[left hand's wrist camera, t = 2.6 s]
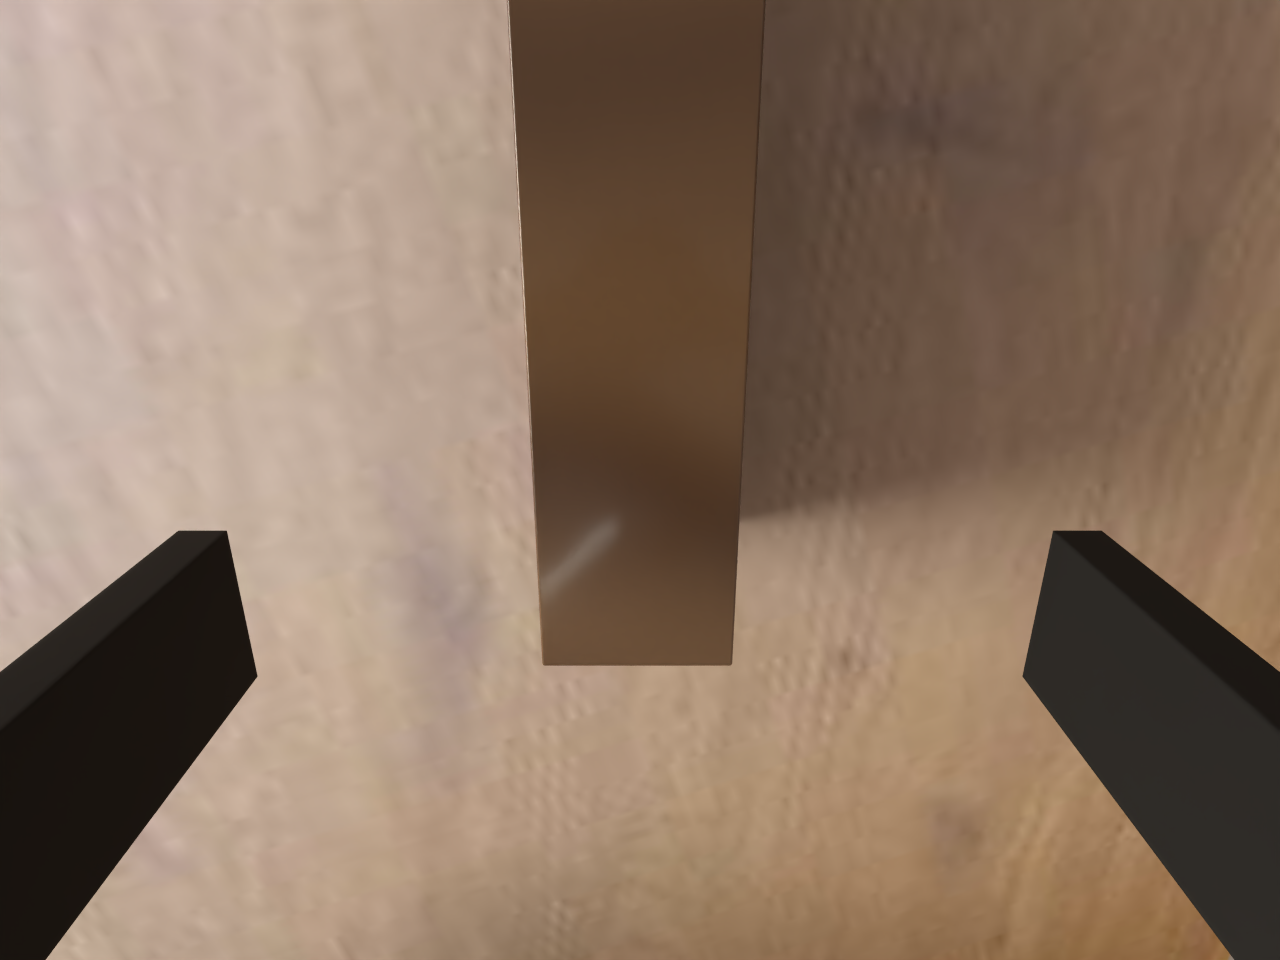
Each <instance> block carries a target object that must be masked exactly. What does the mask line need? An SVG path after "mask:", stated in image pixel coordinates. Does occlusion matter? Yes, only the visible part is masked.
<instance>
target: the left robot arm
mask: <svg viewBox="0 0 1280 960" xmlns="http://www.w3.org/2000/svg"><path fill="white" fill-rule="evenodd" d="M256 678H257V672H256V667H255V662H254V658H253V653H252V648H251V643H250V639H249V634H248V629H247V625H246V620H245V615H244V610H243V606H242V601H241V596H240V591H239V587H238V582H237V577H236V572H235V568H234V563H233V558H232V553H231V549H230V544H229V539H228V534H227V531H178V532H176V533H175V534H174V535H173V536H171V537H170V538H169V539H167V540H166V541H165V542H164V543H162V544H161V545H160V546H159V547H157V548H156V549H155V550H154V551H152V552H151V553H150V554H149V555H147V556H146V557H145V558H143V559H142V560H141V561H140V562H138V563H137V564H136V565H135V566H133V567H132V568H131V569H130V570H128V571H127V572H126V573H125V574H123V575H122V576H121V577H120V578H118V579H117V580H116V581H114V582H113V583H112V584H111V585H109V586H108V587H107V588H106V589H104V590H103V591H102V592H101V593H99V594H98V595H97V596H96V597H94V598H93V599H92V600H91V601H89V602H88V603H87V604H85V605H84V606H83V607H82V608H80V609H79V610H78V611H77V612H75V613H74V614H73V615H72V616H70V617H69V618H68V619H67V620H65V621H64V622H63V623H62V624H60V625H59V626H58V627H56V628H55V629H54V630H53V631H51V632H50V633H49V634H48V635H46V636H45V637H44V638H43V639H41V640H40V641H39V642H38V643H36V644H35V645H34V646H32V647H31V648H30V649H29V650H27V651H26V652H25V653H24V654H22V655H21V656H20V657H19V658H17V659H16V660H15V661H14V662H12V663H11V664H10V665H9V666H7V667H6V668H5V669H3V670H2V671H1V672H0V960H46V958H47V957H48V956H49V954H50V953H51V952H52V950H53V949H54V948H55V946H56V945H57V944H58V942H59V941H60V940H61V938H62V937H63V936H64V934H65V933H66V932H67V930H68V929H69V928H70V926H71V925H72V924H73V922H74V921H75V920H76V918H77V917H78V916H79V914H80V913H81V912H82V910H83V909H84V908H85V906H86V905H87V904H88V902H89V901H90V900H91V898H92V897H93V896H94V894H95V893H96V892H97V890H98V889H99V888H100V886H101V885H102V884H103V882H104V881H105V880H106V878H107V877H108V876H109V874H110V873H111V872H112V870H113V869H114V868H115V866H116V865H117V864H118V862H119V861H120V860H121V858H122V857H123V856H124V854H125V853H126V852H127V850H128V849H129V847H130V846H131V845H132V843H133V842H134V841H135V839H136V838H137V837H138V835H139V834H140V833H141V831H142V830H143V829H144V827H145V826H146V825H147V823H148V822H149V821H150V819H151V818H152V817H153V815H154V814H155V813H156V811H157V810H158V809H159V807H160V806H161V805H162V803H163V802H164V801H165V799H166V798H167V797H168V795H169V794H170V793H171V791H172V790H173V789H174V787H175V786H176V785H177V783H178V782H179V781H180V779H181V778H182V777H183V775H184V774H185V773H186V771H187V770H188V769H189V767H190V766H191V765H192V763H193V762H194V761H195V759H196V758H197V757H198V755H199V754H200V753H201V751H202V750H203V749H204V747H205V746H206V745H207V743H208V742H209V741H210V739H211V738H212V737H213V735H214V734H215V733H216V731H217V730H218V728H219V727H220V726H221V724H222V723H223V722H224V720H225V719H226V718H227V716H228V715H229V714H230V712H231V711H232V710H233V708H234V707H235V706H236V704H237V703H238V702H239V700H240V699H241V698H242V696H243V695H244V694H245V692H246V691H247V690H248V688H249V687H250V686H251V684H252V683H253V682H254V680H255V679H256ZM1023 678H1024V679H1025V680H1026V682H1027V683H1028V684H1029V686H1030V687H1031V688H1032V690H1033V691H1034V692H1035V694H1036V695H1037V696H1038V698H1039V699H1040V700H1041V702H1042V703H1043V704H1044V706H1045V707H1046V708H1047V710H1048V711H1049V712H1050V714H1051V715H1052V716H1053V718H1054V719H1055V720H1056V722H1057V723H1058V724H1059V726H1060V727H1061V728H1062V730H1063V731H1064V733H1065V734H1066V735H1067V737H1068V738H1069V739H1070V741H1071V742H1072V743H1073V745H1074V746H1075V747H1076V749H1077V750H1078V751H1079V753H1080V754H1081V755H1082V757H1083V758H1084V759H1085V761H1086V762H1087V763H1088V765H1089V766H1090V767H1091V769H1092V770H1093V771H1094V773H1095V774H1096V775H1097V777H1098V778H1099V779H1100V781H1101V782H1102V783H1103V785H1104V786H1105V787H1106V789H1107V790H1108V791H1109V793H1110V794H1111V795H1112V797H1113V798H1114V799H1115V801H1116V802H1117V803H1118V805H1119V806H1120V807H1121V809H1122V810H1123V811H1124V813H1125V814H1126V815H1127V817H1128V818H1129V819H1130V821H1131V822H1132V823H1133V825H1134V826H1135V827H1136V829H1137V830H1138V831H1139V833H1140V834H1141V835H1142V837H1143V838H1144V839H1145V841H1146V842H1147V843H1148V845H1149V846H1150V848H1151V849H1152V850H1153V852H1154V853H1155V854H1156V856H1157V857H1158V858H1159V860H1160V861H1161V862H1162V864H1163V865H1164V866H1165V868H1166V869H1167V870H1168V872H1169V873H1170V874H1171V876H1172V877H1173V878H1174V880H1175V881H1176V882H1177V884H1178V885H1179V886H1180V888H1181V889H1182V890H1183V892H1184V893H1185V894H1186V896H1187V897H1188V898H1189V900H1190V901H1191V902H1192V904H1193V905H1194V906H1195V908H1196V909H1197V910H1198V912H1199V913H1200V914H1201V916H1202V917H1203V918H1204V920H1205V921H1206V922H1207V924H1208V925H1209V926H1210V928H1211V929H1212V930H1213V932H1214V933H1215V934H1216V936H1217V937H1218V938H1219V940H1220V941H1221V942H1222V944H1223V945H1224V946H1225V948H1226V949H1227V950H1228V952H1229V953H1230V954H1231V956H1232V957H1233V958H1234V960H1280V672H1279V671H1278V670H1277V669H1275V668H1274V667H1273V666H1271V665H1270V664H1269V663H1268V662H1266V661H1265V660H1264V659H1263V658H1261V657H1260V656H1259V655H1258V654H1256V653H1255V652H1254V651H1253V650H1251V649H1250V648H1249V647H1248V646H1246V645H1245V644H1244V643H1242V642H1241V641H1240V640H1239V639H1237V638H1236V637H1235V636H1234V635H1232V634H1231V633H1230V632H1229V631H1227V630H1226V629H1225V628H1224V627H1222V626H1221V625H1220V624H1218V623H1217V622H1216V621H1215V620H1213V619H1212V618H1211V617H1210V616H1208V615H1207V614H1206V613H1205V612H1203V611H1202V610H1201V609H1200V608H1198V607H1197V606H1196V605H1195V604H1193V603H1192V602H1191V601H1189V600H1188V599H1187V598H1186V597H1184V596H1183V595H1182V594H1181V593H1179V592H1178V591H1177V590H1176V589H1174V588H1173V587H1172V586H1171V585H1169V584H1168V583H1167V582H1166V581H1164V580H1163V579H1162V578H1160V577H1159V576H1158V575H1157V574H1155V573H1154V572H1153V571H1152V570H1150V569H1149V568H1148V567H1147V566H1145V565H1144V564H1143V563H1142V562H1140V561H1139V560H1138V559H1136V558H1135V557H1134V556H1133V555H1131V554H1130V553H1129V552H1128V551H1126V550H1125V549H1124V548H1123V547H1121V546H1120V545H1119V544H1118V543H1116V542H1115V541H1114V540H1113V539H1111V538H1110V537H1109V536H1107V535H1106V534H1105V533H1104V532H1102V531H1053V534H1052V539H1051V544H1050V549H1049V553H1048V558H1047V563H1046V568H1045V572H1044V577H1043V582H1042V587H1041V591H1040V596H1039V601H1038V606H1037V610H1036V615H1035V620H1034V625H1033V629H1032V634H1031V639H1030V643H1029V648H1028V653H1027V658H1026V662H1025V667H1024V672H1023Z"/></svg>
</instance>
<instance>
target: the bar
mask: <svg viewBox="0 0 1280 960" xmlns="http://www.w3.org/2000/svg"><path fill="white" fill-rule="evenodd" d="M765 1H766V0H507V8H508V27H509V46H510V64H511V83H512V102H513V121H514V139H515V158H516V177H517V196H518V214H519V233H520V252H521V270H522V289H523V308H524V327H525V345H526V364H527V383H528V402H529V420H530V439H531V458H532V476H533V495H534V514H535V533H536V551H537V570H538V589H539V608H540V626H541V645H542V663H543V665H731V664H732V655H733V635H734V616H735V596H736V576H737V556H738V536H739V516H740V497H741V477H742V457H743V437H744V417H745V397H746V378H747V358H748V338H749V318H750V298H751V278H752V259H753V239H754V219H755V199H756V179H757V159H758V140H759V120H760V100H761V80H762V60H763V40H764V20H765Z"/></svg>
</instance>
